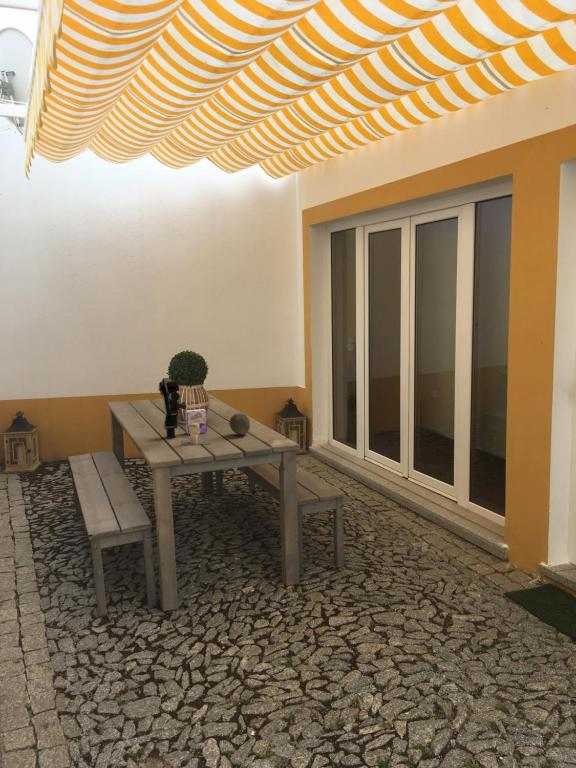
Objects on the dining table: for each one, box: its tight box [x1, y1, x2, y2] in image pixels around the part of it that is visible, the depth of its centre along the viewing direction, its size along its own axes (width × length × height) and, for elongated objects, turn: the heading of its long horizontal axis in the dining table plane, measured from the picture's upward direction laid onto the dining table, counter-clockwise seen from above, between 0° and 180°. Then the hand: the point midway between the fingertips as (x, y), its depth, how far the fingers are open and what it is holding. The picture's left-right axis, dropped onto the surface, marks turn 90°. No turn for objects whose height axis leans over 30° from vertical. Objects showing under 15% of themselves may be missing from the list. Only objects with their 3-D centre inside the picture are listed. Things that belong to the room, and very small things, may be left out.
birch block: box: [189, 423, 201, 443], centre depth 423 cm, size 4×4×12 cm
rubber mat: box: [181, 438, 211, 447], centre depth 424 cm, size 14×18×1 cm
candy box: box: [184, 408, 208, 436], centre depth 451 cm, size 14×6×16 cm, turn 112°
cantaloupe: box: [228, 413, 251, 436], centre depth 442 cm, size 14×14×15 cm
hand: (176, 423), depth 427 cm, fingers open, 9 cm apart
